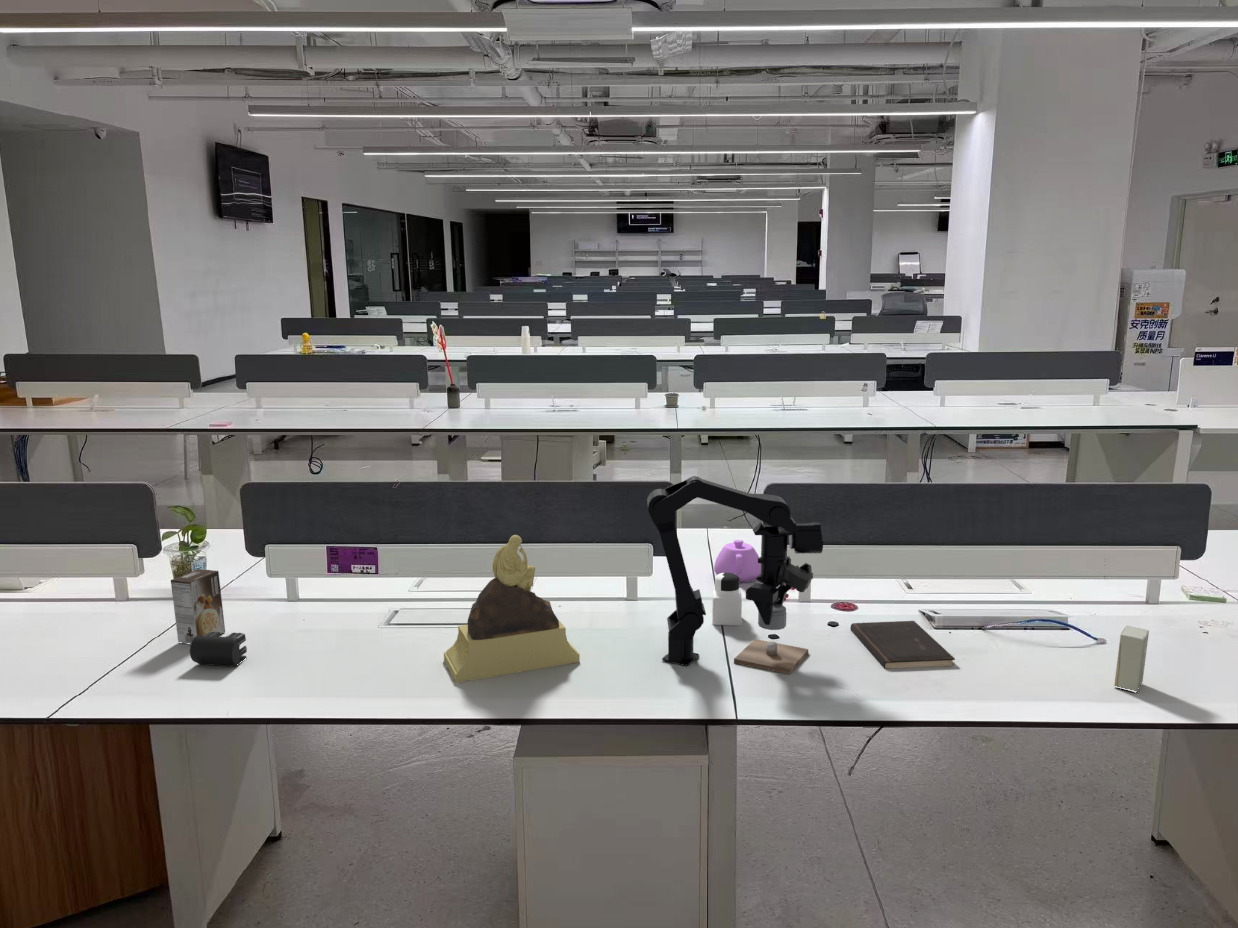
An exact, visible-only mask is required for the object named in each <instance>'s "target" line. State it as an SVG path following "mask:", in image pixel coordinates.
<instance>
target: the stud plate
mask: <svg viewBox="0 0 1238 928" xmlns="http://www.w3.org/2000/svg"><path fill="white" fill-rule="evenodd" d="M808 654H809V648H804V647H799V646H794V645H788V644H784V643H783V644H782V643H779V642H776V641H772V640H771V641H767V640H761V639H757V638H754V639H753V640H752V641H751V642H750V643H749V644H748V645H747V646H746V647H745V648H743V650H742V651H741V652H739V653H738V654H737V655H736V656H735V657H734V658H733V664H737V665H743V666H746V667H752V668H756V667H758V668H757V669H761V668H763V669H762V670H766V669H769V670H768V671H771V670H774V671H773V672H776V671H777V672H776V673H780V672H781V673H782V674H784V675H785V674H786V675H790V674H792V673H793V671H794V670H795V669H796V668H797V667H798V666H799V664H800V663H801V662H802V661H803V660H804V659H805V658H806V656H808Z"/></svg>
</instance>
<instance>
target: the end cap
mask: <svg viewBox="0 0 1238 928" xmlns="http://www.w3.org/2000/svg"><path fill="white" fill-rule="evenodd" d="M220 634H221V632H209V633H207V634H206V635H204V636H196V637H195V638H194V639H193V641H192V643H191V645H190V647H189V655H190V656H189V657H190V658H191V661H192V662H194V663H197V664H198V665H206V664H214V665H213V666H229V665H234V666H233V667H237V666H236V665H237V664H239V663H240V662H241V661H243V660H244V659H245V658H246V659H247V656H246V655H245V654H246V653H247V652H248V651H247V650H248V648H247V645H244V646H242V647H241V648H240V646H241V645H242V644H243V643H245V642H246V641H247V638H246V634H245V633H243V632H231V634H228V635H227V636H221V635H222V634H221V635H220ZM244 661H245V660H244ZM244 661H243V662H244ZM239 665H240V664H239Z"/></svg>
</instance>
